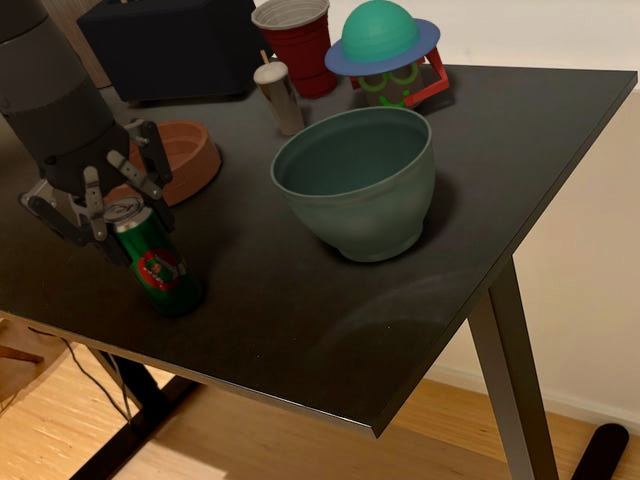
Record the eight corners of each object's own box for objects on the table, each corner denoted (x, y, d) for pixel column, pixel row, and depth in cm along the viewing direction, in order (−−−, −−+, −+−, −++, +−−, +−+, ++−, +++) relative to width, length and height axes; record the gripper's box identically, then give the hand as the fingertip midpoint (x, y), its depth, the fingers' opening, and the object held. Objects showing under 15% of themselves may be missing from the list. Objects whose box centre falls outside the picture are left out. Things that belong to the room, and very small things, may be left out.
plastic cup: (333, 108, 101) (303, 22, 93) (270, 108, 105) (235, 25, 97) (367, 70, 108) (341, -14, 99) (306, 71, 112) (276, -10, 103)
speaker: (279, 62, 116) (240, -38, 105) (245, 103, 108) (198, 0, 97) (167, 72, 122) (118, -21, 111) (126, 112, 114) (70, 15, 103)
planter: (83, 96, 122) (-8, -49, 106) (81, 75, 129) (-5, -64, 112) (140, 75, 124) (60, -72, 107) (135, 56, 130) (59, -85, 114)
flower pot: (374, 180, 86) (345, 95, 79) (483, 209, 78) (463, 117, 70) (280, 262, 79) (237, 177, 71) (390, 303, 70) (355, 212, 63)
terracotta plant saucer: (156, 228, 88) (137, 198, 85) (85, 204, 96) (64, 175, 93) (246, 159, 96) (231, 128, 93) (173, 142, 104) (157, 113, 100)
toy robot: (346, 151, 92) (307, 43, 82) (346, 98, 103) (312, -5, 93) (461, 124, 92) (435, 11, 82) (449, 73, 102) (425, -33, 92)
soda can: (167, 288, 79) (106, 196, 70) (210, 283, 78) (154, 189, 69) (151, 321, 75) (85, 228, 67) (196, 315, 74) (135, 221, 66)
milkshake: (306, 114, 102) (278, 44, 94) (312, 131, 98) (283, 59, 91) (275, 125, 101) (245, 55, 94) (279, 142, 97) (249, 71, 90)
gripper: (85, 40, 64) (176, 199, 77) (-62, 123, 57) (65, 283, 70) (135, 47, 61) (223, 213, 73) (-15, 137, 54) (110, 304, 66)
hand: (145, 246), depth 71 cm, fingers closed on soda can, 5 cm apart
